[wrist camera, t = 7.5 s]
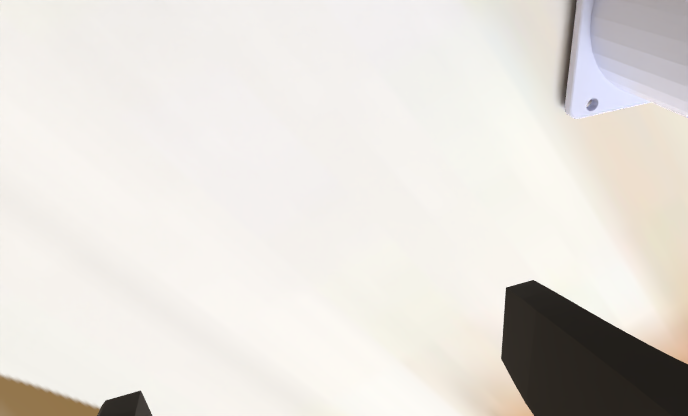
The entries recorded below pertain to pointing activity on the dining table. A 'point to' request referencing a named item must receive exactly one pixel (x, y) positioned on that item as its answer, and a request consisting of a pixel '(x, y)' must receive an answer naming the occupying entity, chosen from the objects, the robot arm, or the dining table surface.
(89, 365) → the dining table surface
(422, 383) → the dining table surface
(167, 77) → the dining table surface
